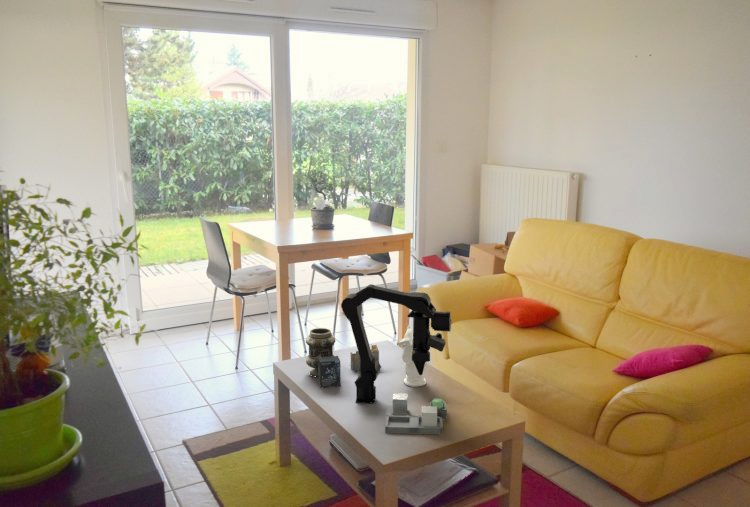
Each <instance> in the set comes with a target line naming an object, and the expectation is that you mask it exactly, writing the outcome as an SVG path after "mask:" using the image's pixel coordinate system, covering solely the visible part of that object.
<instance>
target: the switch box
mask: <svg viewBox="0 0 750 507" xmlns="http://www.w3.org/2000/svg"><path fill="white" fill-rule="evenodd" d="M428 406H432V401H428ZM447 408H448V407H447V402H446V401H445V402H444V401H443V409H437V417H442V420H447V419H448V418H447V417H448V409H447Z"/></svg>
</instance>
